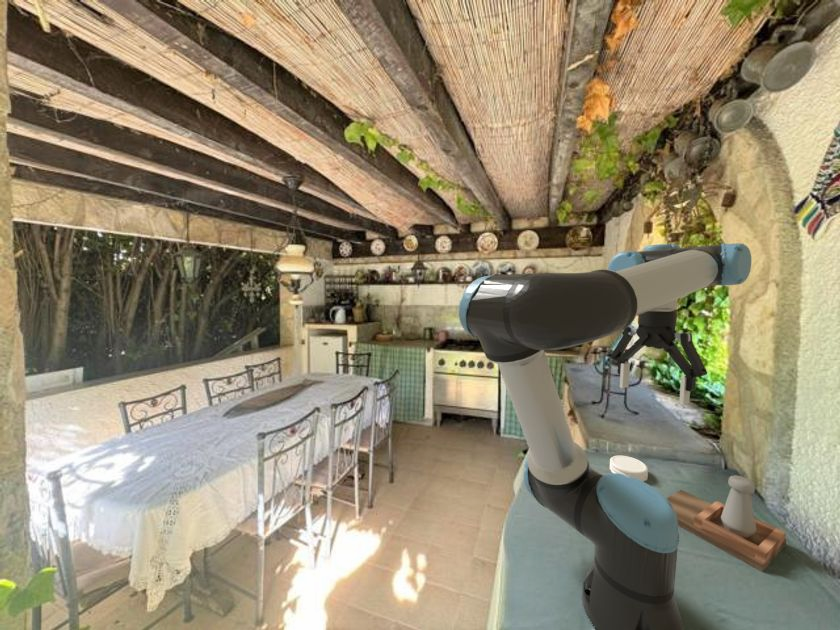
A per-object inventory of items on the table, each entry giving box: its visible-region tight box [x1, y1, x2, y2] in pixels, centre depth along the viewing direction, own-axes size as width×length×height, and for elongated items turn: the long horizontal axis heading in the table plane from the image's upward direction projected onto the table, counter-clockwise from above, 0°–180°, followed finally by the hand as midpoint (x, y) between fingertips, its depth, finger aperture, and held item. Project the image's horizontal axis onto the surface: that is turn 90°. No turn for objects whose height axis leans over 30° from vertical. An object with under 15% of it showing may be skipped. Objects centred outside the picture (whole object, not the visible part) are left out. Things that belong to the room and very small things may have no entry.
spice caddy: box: [666, 489, 787, 573], centre depth 78 cm, size 14×20×4 cm
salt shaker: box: [721, 475, 756, 539], centre depth 74 cm, size 6×6×13 cm
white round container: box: [609, 455, 649, 482], centre depth 100 cm, size 10×10×4 cm
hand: (651, 395), depth 80 cm, fingers open, 13 cm apart
